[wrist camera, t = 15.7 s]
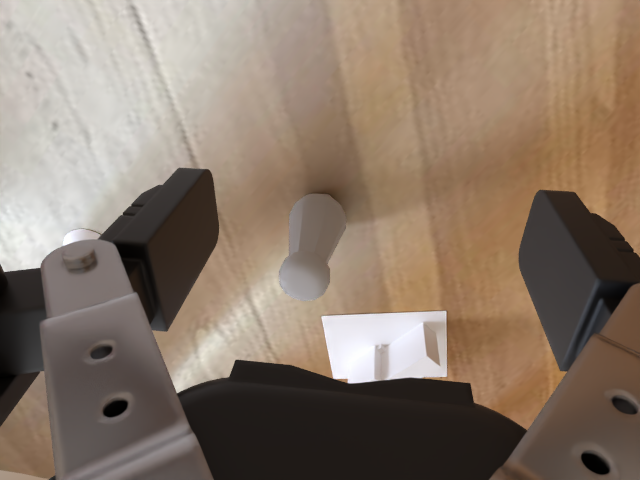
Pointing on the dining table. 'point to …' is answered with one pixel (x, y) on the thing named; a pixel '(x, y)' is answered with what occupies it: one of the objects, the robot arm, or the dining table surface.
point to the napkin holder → (387, 345)
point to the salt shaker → (311, 245)
